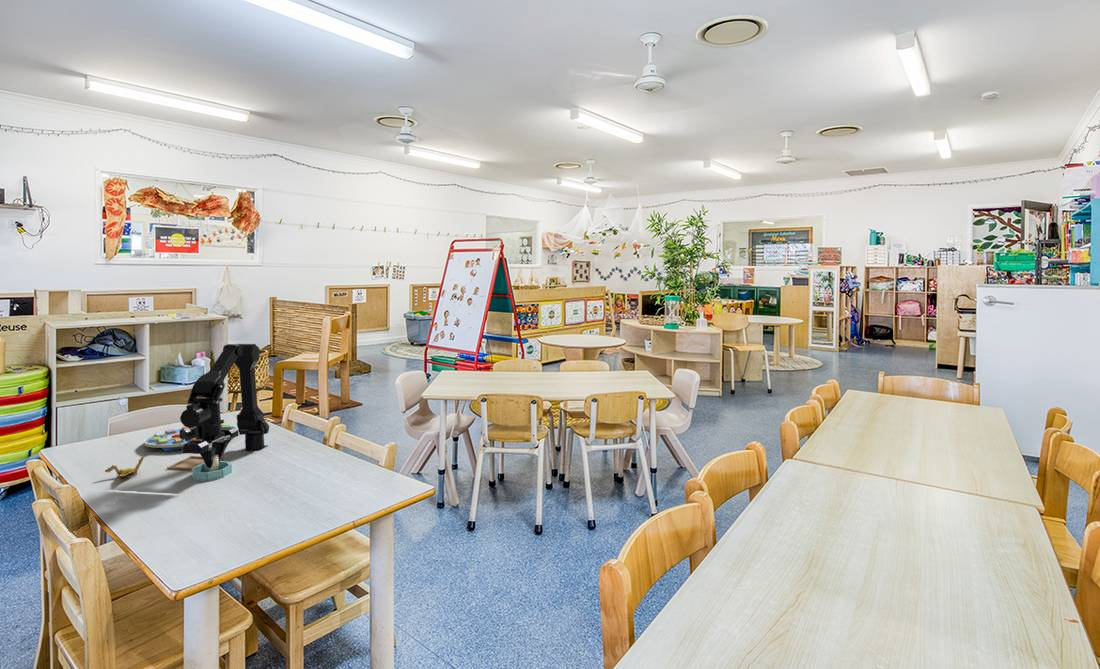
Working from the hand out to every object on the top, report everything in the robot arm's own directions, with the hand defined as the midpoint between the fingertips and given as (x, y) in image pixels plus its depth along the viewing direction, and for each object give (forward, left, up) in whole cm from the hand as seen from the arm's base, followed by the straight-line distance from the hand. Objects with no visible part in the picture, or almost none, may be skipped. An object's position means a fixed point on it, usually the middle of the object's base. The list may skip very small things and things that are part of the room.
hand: (213, 465), depth 180 cm
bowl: (-1, -1, -4) cm, 4 cm away
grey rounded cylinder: (-2, -3, -3) cm, 5 cm away
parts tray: (-9, -13, -4) cm, 16 cm away
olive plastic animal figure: (+4, -26, -4) cm, 27 cm away
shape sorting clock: (-33, -32, -4) cm, 46 cm away
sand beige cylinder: (0, 0, -1) cm, 1 cm away
